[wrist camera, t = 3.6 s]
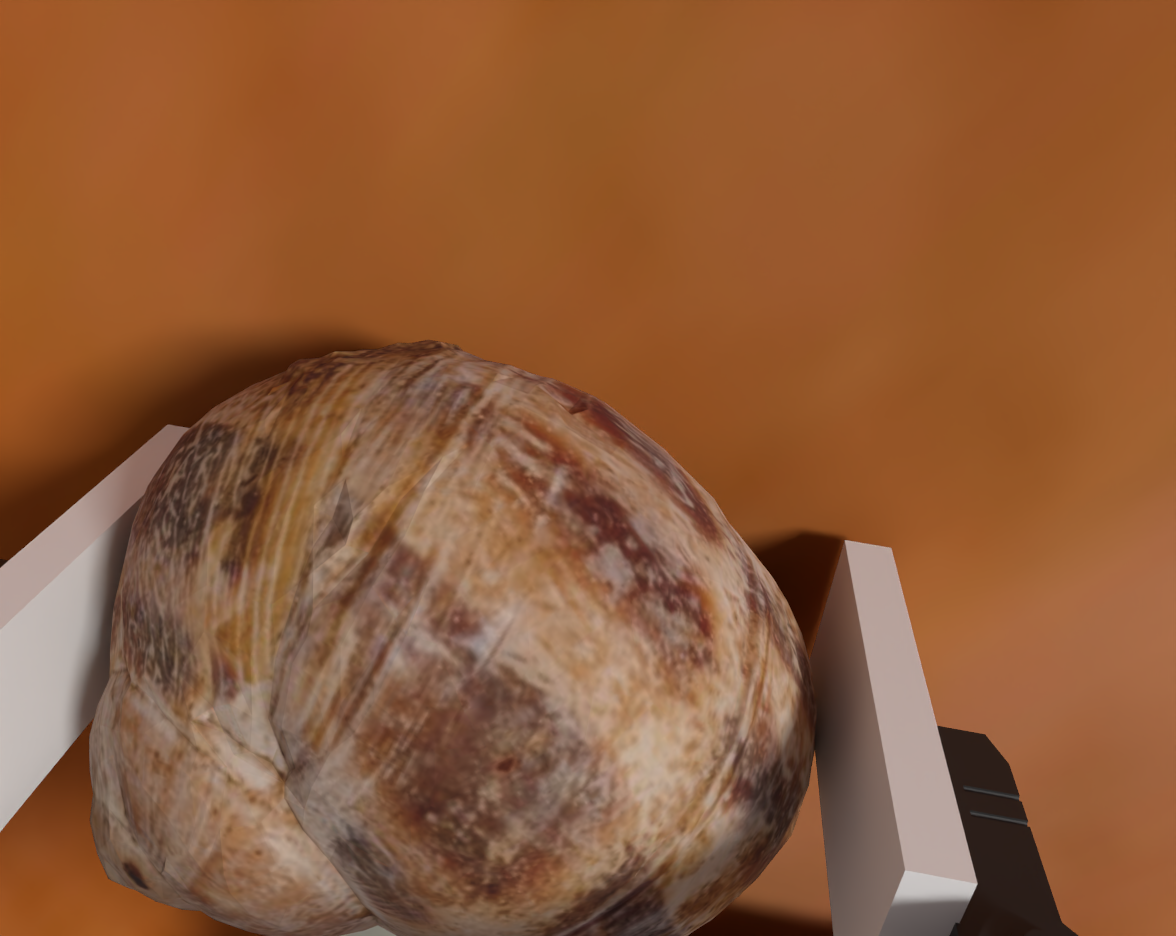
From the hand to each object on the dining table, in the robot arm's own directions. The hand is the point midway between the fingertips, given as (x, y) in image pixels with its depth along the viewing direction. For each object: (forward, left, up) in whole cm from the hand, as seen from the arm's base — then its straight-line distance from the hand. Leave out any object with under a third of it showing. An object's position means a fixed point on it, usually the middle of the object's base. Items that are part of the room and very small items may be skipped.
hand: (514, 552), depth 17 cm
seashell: (0, -1, -1) cm, 1 cm away
